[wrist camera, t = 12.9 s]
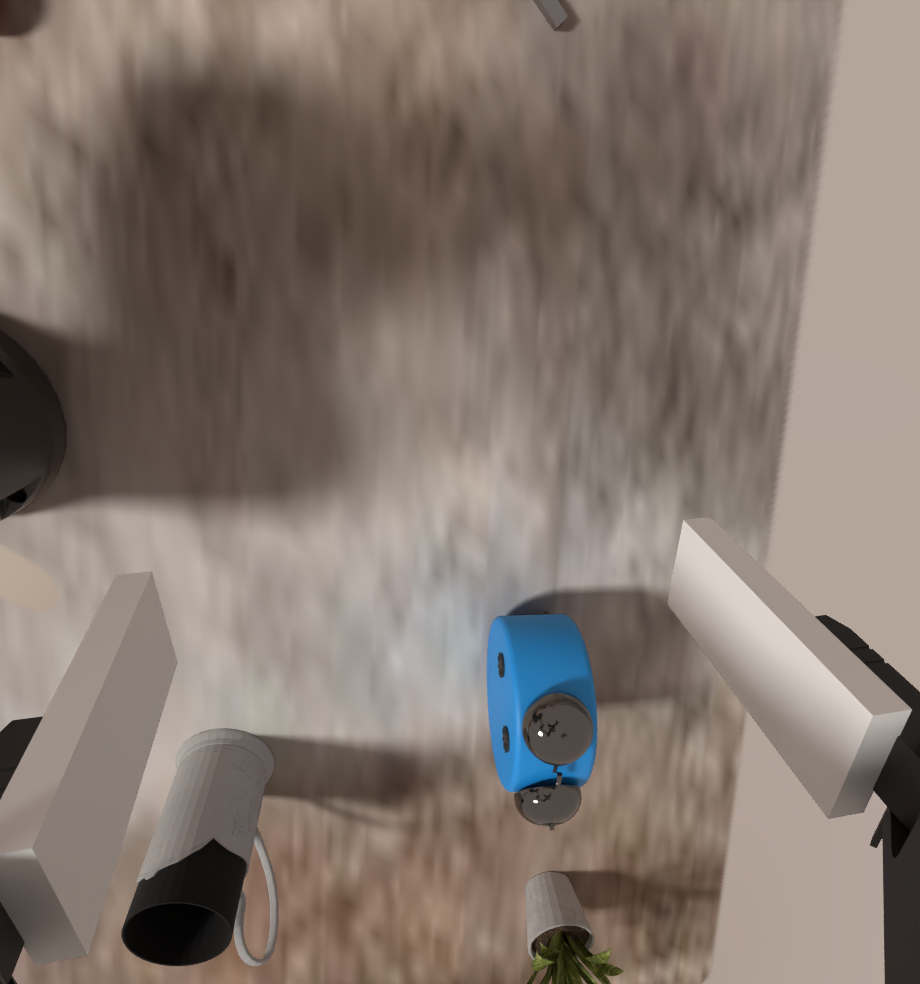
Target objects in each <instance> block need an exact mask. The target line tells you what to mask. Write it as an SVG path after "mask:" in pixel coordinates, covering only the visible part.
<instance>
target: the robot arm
mask: <svg viewBox="0 0 920 984" xmlns="http://www.w3.org/2000/svg"><path fill="white" fill-rule="evenodd" d="M65 446H66V429H65V422H64V417H63V413H62V409H61V406H60V403H59V401H58V398H57V396H56V394H55V392H54V390H53V388H52V386H51V384H50V382H49V381H48V379H47V378H46V376H45V375H44V373H43V372H42V370H41V369H40V368H39V366H38V365H37V364H36V363H35V361H34V360H33V359H32V358H31V357H30V356H29V355H28V354H27V353H26V352H25V351H24V350H23V349H22V348H21V347H20V346H19V345H18V344H17V343H15V342H14V341H13V340H12V339H11V338H9V337H8V336H7V335H5V334H4V333H3V332H1V331H0V521H1V520H3V519H5V518H7V517H9V516H11V515H13V514H15V513H17V512H18V511H20V510H21V509H23V508H24V507H25V506H27V505H28V504H29V503H30V502H31V501H33V500H34V499H35V498H36V497H37V496H38V495H40V494H41V493H42V492H43V491H44V490H45V489H46V488H47V487H48V486H49V485H50V483H51V482H52V481H53V479H54V478H55V476H56V474H57V473H58V470H59V468H60V466H61V463H62V461H63V457H64V452H65ZM667 604H668V606H669V607H670V608H671V610H672V611H673V612H674V614H675V615H676V616H677V618H678V619H679V620H680V622H681V623H682V624H683V626H684V627H685V628H686V630H687V631H688V632H689V634H690V635H691V636H692V638H693V639H694V640H695V642H696V643H697V644H698V646H699V647H700V648H701V650H702V651H703V652H704V654H705V655H706V656H707V658H708V659H709V660H710V662H711V663H712V664H713V666H714V667H715V668H716V670H717V671H718V672H719V674H720V675H721V676H722V678H723V679H724V680H725V682H726V683H727V684H728V686H729V687H730V688H731V690H732V691H733V692H734V694H735V695H736V696H737V698H738V699H739V700H740V702H741V703H742V704H743V706H744V707H745V708H746V710H747V711H748V712H749V714H750V715H751V716H752V718H753V719H754V720H755V722H756V723H757V724H758V726H759V727H760V729H761V730H762V731H763V733H764V734H765V735H766V737H767V738H768V739H769V740H770V742H771V743H772V744H773V746H774V747H775V748H776V750H777V751H778V753H779V754H780V755H781V757H782V758H783V759H784V760H785V762H786V763H787V765H788V766H789V767H790V769H791V770H792V771H793V772H794V774H795V775H796V776H797V778H798V779H799V780H800V782H801V783H802V785H803V786H804V787H805V788H806V790H807V791H808V793H809V794H810V795H811V796H812V798H813V799H814V800H815V802H816V803H817V804H818V806H819V807H820V809H821V810H822V811H823V813H824V814H825V815H826V817H827V818H828V819H830V818H836V817H841V816H846V815H852V814H857V813H863V812H864V811H865V808H866V806H867V804H868V802H869V800H870V798H871V796H872V794H873V791H875V793H876V794H877V795H878V796H879V797H880V799H881V800H882V801H883V802H884V803H885V804H886V805H887V809H886V811H885V813H884V815H883V817H882V819H881V821H880V823H879V825H878V827H877V829H876V831H875V833H874V835H873V837H872V840H871V843H870V845H871V846H873V847H875V848H877V846H878V844H879V842H880V840H881V839H883V887H884V888H883V889H884V890H883V891H884V951H885V952H884V956H885V984H920V692H919V691H918V690H917V689H916V688H915V687H914V686H913V685H911V684H910V683H909V682H908V681H907V680H906V679H905V678H904V677H903V676H902V675H900V674H899V673H898V672H897V671H896V670H895V669H894V668H893V667H892V666H891V665H889V664H888V663H885V662H884V659H883V658H882V657H881V656H880V655H879V654H877V653H876V652H875V651H874V650H873V649H869V645H868V644H866V643H865V642H864V641H863V640H862V639H861V638H860V637H859V636H858V635H857V634H856V633H854V632H853V631H852V630H851V629H850V628H848V627H846V626H844V625H843V624H841V623H839V622H837V621H836V620H834V619H832V618H830V617H829V616H827V615H822V616H813V615H812V614H811V613H810V612H809V611H808V610H807V609H806V608H805V607H804V606H803V605H802V604H801V603H800V602H799V601H798V600H797V599H795V597H793V595H791V594H790V593H789V592H788V591H787V590H786V589H785V588H784V587H783V586H782V585H781V584H780V583H779V582H778V581H777V580H776V579H775V578H774V577H772V576H771V575H770V574H769V573H768V572H767V571H766V570H765V569H764V568H763V567H762V566H761V565H760V564H759V563H758V562H757V561H756V560H755V559H754V558H753V557H752V556H751V555H750V554H748V553H747V552H746V551H745V550H744V549H743V548H742V547H741V546H740V545H739V544H738V543H737V542H736V541H735V540H734V539H733V538H732V537H731V536H730V535H729V534H727V533H726V532H725V531H724V530H723V529H722V528H721V527H720V526H719V525H718V524H717V523H716V522H715V521H714V520H713V519H712V518H711V517H708V518H697V519H687V520H683V525H682V530H681V535H680V540H679V545H678V550H677V556H676V561H675V566H674V571H673V576H672V581H671V586H670V592H669V597H668V602H667ZM176 665H177V659H176V655H175V652H174V648H173V645H172V641H171V637H170V634H169V630H168V627H167V623H166V620H165V616H164V613H163V609H162V605H161V602H160V598H159V595H158V591H157V588H156V584H155V581H154V577H153V573H152V572H142V573H132V574H122V575H116V576H115V578H114V580H113V582H112V584H111V586H110V588H109V590H108V592H107V594H106V596H105V598H104V600H103V602H102V604H101V606H100V608H99V609H98V611H97V613H96V615H95V617H94V619H93V621H92V623H91V625H90V627H89V629H88V631H87V633H86V635H85V637H84V639H83V640H82V642H81V644H80V646H79V648H78V650H77V652H76V654H75V656H74V658H73V660H72V662H71V664H70V666H69V668H68V670H67V672H66V673H65V675H64V677H63V679H62V681H61V683H60V685H59V687H58V689H57V691H56V693H55V695H54V697H53V699H52V701H51V703H50V704H49V706H48V708H47V710H46V712H45V714H44V716H43V717H36V718H28V719H20V720H13V721H11V722H10V723H9V724H8V725H7V726H6V727H5V728H4V729H3V730H2V731H1V732H0V984H17V983H16V981H15V980H14V978H13V976H12V974H13V971H14V968H15V966H16V963H17V961H18V958H19V956H20V953H21V951H22V948H23V946H24V948H25V949H26V951H27V953H28V954H29V956H30V958H31V959H32V961H33V963H34V964H35V965H39V964H44V963H50V962H55V961H60V960H66V959H71V958H77V957H82V956H87V955H88V953H89V950H90V947H91V943H92V940H93V937H94V934H95V930H96V927H97V924H98V921H99V917H100V914H101V911H102V907H103V904H104V901H105V898H106V894H107V891H108V888H109V885H110V881H111V878H112V875H113V872H114V868H115V865H116V862H117V858H118V855H119V852H120V849H121V845H122V842H123V839H124V836H125V832H126V829H127V826H128V822H129V819H130V816H131V813H132V809H133V806H134V803H135V800H136V796H137V793H138V790H139V786H140V783H141V780H142V777H143V773H144V770H145V767H146V764H147V760H148V757H149V754H150V750H151V747H152V744H153V741H154V737H155V734H156V731H157V728H158V724H159V721H160V718H161V714H162V711H163V708H164V705H165V701H166V698H167V695H168V692H169V688H170V685H171V682H172V678H173V675H174V672H175V669H176Z"/></svg>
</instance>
